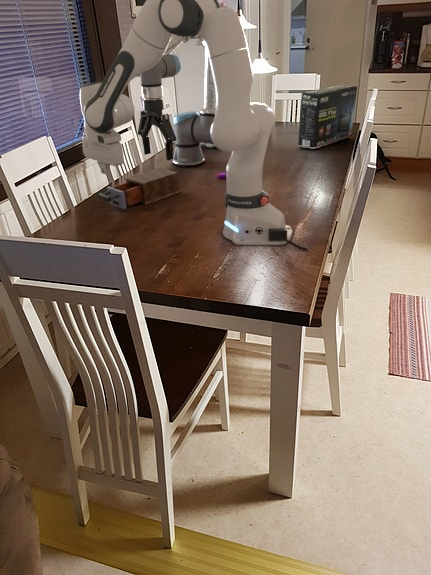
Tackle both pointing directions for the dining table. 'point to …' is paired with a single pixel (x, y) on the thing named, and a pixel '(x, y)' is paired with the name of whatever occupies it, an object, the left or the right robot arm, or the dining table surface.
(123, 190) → the drawer
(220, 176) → the handgun
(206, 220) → the dining table surface
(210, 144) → the fossil
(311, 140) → the router box
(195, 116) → the left robot arm
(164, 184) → the cabinet
